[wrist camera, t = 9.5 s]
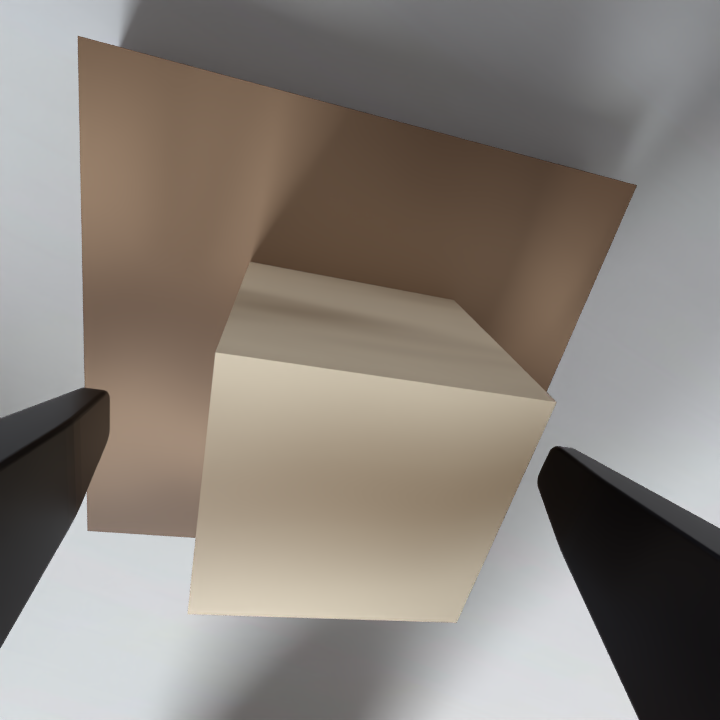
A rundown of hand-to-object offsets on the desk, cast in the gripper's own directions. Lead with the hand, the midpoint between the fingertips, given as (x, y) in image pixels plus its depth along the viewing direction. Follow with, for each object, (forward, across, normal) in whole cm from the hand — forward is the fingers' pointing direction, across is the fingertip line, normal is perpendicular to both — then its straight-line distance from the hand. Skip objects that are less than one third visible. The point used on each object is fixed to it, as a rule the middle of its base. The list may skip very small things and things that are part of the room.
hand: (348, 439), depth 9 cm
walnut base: (+5, 0, 0) cm, 5 cm away
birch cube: (+3, 0, 0) cm, 3 cm away
